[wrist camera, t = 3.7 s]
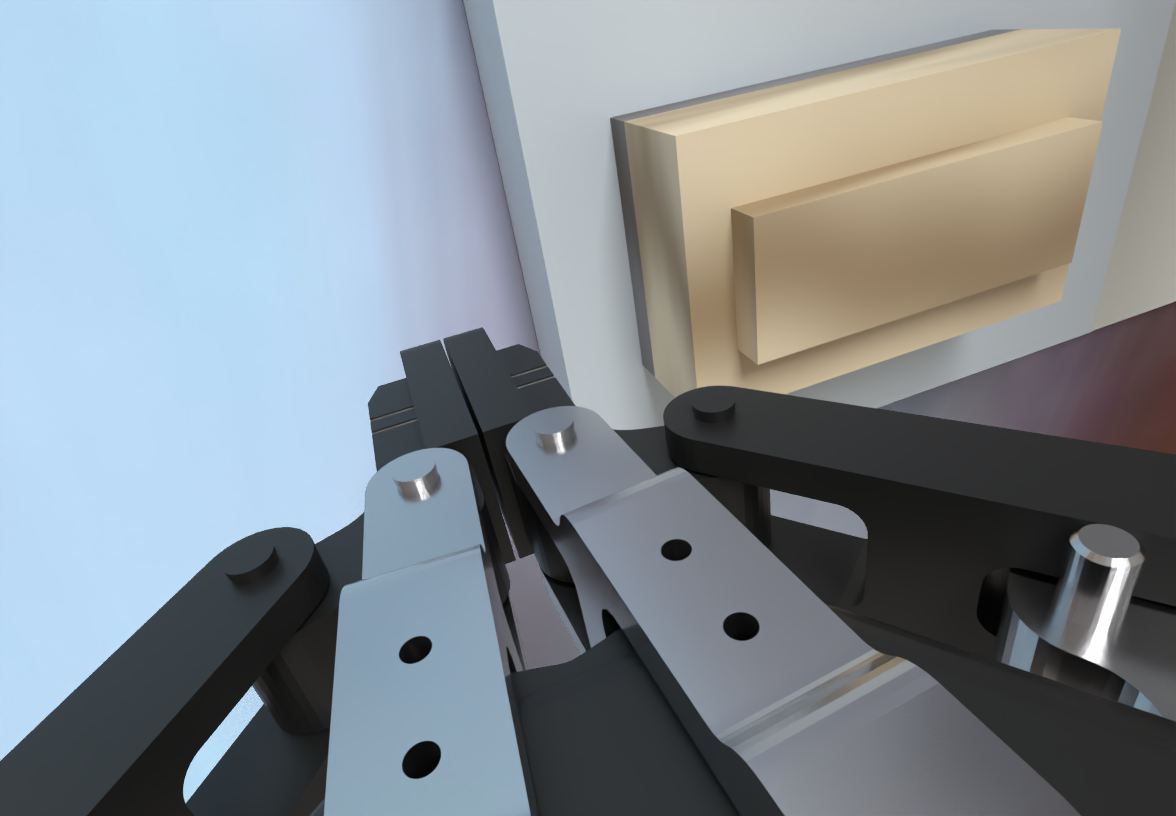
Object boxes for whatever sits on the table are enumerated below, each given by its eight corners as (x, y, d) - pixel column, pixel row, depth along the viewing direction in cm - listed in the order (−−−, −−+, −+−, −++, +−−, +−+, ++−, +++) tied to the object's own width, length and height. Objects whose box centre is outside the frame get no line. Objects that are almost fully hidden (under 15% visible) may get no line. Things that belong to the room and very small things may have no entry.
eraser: (609, 117, 14) (696, 141, 11) (992, 29, 16) (1161, 28, 13) (642, 364, 18) (717, 441, 14) (960, 265, 20) (1091, 311, 16)
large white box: (439, -106, 14) (465, -136, 12) (1110, -206, 18) (1238, -246, 15) (562, 454, 22) (593, 508, 19) (1016, 302, 25) (1092, 331, 23)
